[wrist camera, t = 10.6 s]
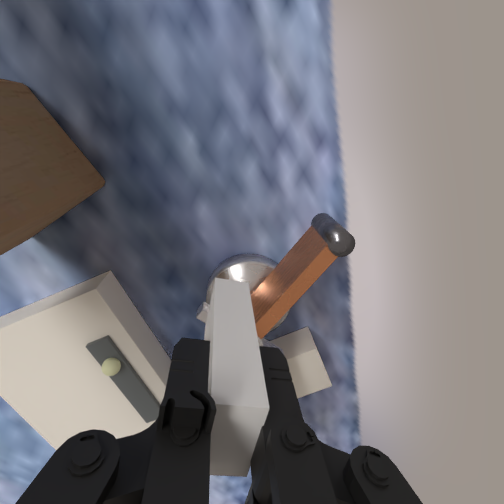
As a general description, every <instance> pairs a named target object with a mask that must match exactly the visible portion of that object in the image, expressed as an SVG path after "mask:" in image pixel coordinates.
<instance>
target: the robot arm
mask: <svg viewBox="0 0 504 504" xmlns="http://www.w3.org/2000/svg"><path fill="white" fill-rule="evenodd" d="M289 371H290V370H289V366H288V362H287V359H286V357H285V356H284V355H283V353H282V352H281V351H280V349H279V348H274V347H265V346H259V343H258V337H257V331H256V325H255V319H254V313H253V307H252V301H251V295H250V290H249V284H248V283H247V282H240V281H234V280H227V279H221V278H215V281H214V286H213V291H212V296H211V301H210V306H209V311H208V316H207V321H206V326H205V336H204V340H198V339H190V338H181V339H180V341H179V342H178V343H177V344H176V345H175V346H174V350H173V355H172V360H171V364H170V370H169V374H168V379H167V384H166V389H165V394H164V398H163V400H162V402H161V405H160V409H159V415H158V418H157V419H156V421H155V422H154V423H153V424H152V425H151V426H150V427H149V428H147V429H145V430H143V431H142V432H140V433H137V434H134V435H130V436H126V437H122V438H118V439H116V438H115V437H114V435H112V434H110V433H108V432H107V431H105V430H96V429H92V430H88V431H83V432H80V433H78V434H76V435H74V436H72V437H70V438H69V439H67V440H66V441H65V442H64V443H63V444H62V445H61V446H60V447H59V448H58V449H57V450H56V452H55V453H54V454H53V456H52V457H51V458H50V459H49V461H48V462H47V463H46V465H45V466H44V467H43V468H42V470H41V471H40V472H39V474H38V475H37V476H36V478H35V479H34V480H33V481H32V483H31V484H30V485H29V487H28V488H27V489H26V491H25V492H24V493H23V494H22V496H21V497H20V498H19V500H18V501H17V502H16V504H209V478H210V475H220V476H243V477H247V474H248V471H249V468H250V465H251V475H252V484H251V487H250V490H249V493H248V496H247V499H246V501H245V504H423V503H422V502H421V501H420V499H419V498H418V496H417V495H416V494H415V492H414V491H413V490H412V488H411V486H410V485H409V484H408V482H407V481H406V479H405V478H404V477H403V475H402V474H401V473H400V471H399V470H398V468H397V467H396V465H395V464H394V463H393V462H392V461H391V460H390V459H389V457H388V456H386V455H385V454H383V453H382V452H381V451H379V450H378V449H375V448H373V447H370V446H358V447H356V448H355V449H353V451H352V453H351V455H350V454H348V453H345V452H343V451H340V450H338V449H335V448H332V447H330V446H328V445H326V444H324V443H322V442H321V441H319V440H318V439H317V437H316V434H315V432H314V431H313V430H312V429H311V428H310V427H309V426H308V425H307V424H306V423H304V420H303V417H302V413H301V410H300V406H299V402H298V399H297V395H296V391H295V388H294V384H293V382H292V377H291V373H290V372H289Z"/></svg>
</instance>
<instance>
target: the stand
mask: <svg viewBox="0 0 504 504" xmlns="http://www.w3.org/2000/svg"><path fill="white" fill-rule="evenodd" d="M270 342H271V343H273V344H275V345H276V346H278V347H280V348H281V349H283V353H284V356H285V357H286V359H287V362H288V366H289V370H290V371H289V372H290V373H291V377H292V382H293V384H294V388H295V391H296V395H297V399H298V398H300V397H303V396H306V395H309V394H311V393H314V392H317V391H320V390H322V389H325V388H328V387H331V386H332V384H331V382H330V379H329V377H328V374H327V372H326V369H325V367H324V364H323V362H322V359H321V357H320V355H319V352H318V350H317V347H316V345H315V342H314V340H313V338H312V335H311V333H310V330H309V328H308V327H305V328H303V329H300V330H297V331H295V332H292V333H289V334H287V335H284V336H282V337H279V338H276V339H274V340H271V341H270ZM170 364H171V359H170V358H169V356H168V355H167V353H166V352H165V350H164V349H163V347H162V346H161V344H160V343H159V341H158V340H157V339H156V337H155V336H154V334H153V333H152V331H151V330H150V328H149V327H148V325H147V324H146V322H145V321H144V319H143V318H142V316H141V315H140V313H139V312H138V310H137V309H136V307H135V306H134V304H133V303H132V301H131V300H130V298H129V297H128V295H127V294H126V292H125V291H124V289H123V288H122V286H121V285H120V283H119V282H118V280H117V279H116V277H115V276H114V274H113V273H112V271H111V270H110V271H108V272H105V273H103V274H101V275H98V276H96V277H94V278H91V279H89V280H86V281H84V282H82V283H79V284H77V285H75V286H72V287H70V288H67V289H65V290H63V291H60V292H58V293H56V294H53V295H51V296H49V297H46V298H44V299H41V300H39V301H37V302H34V303H32V304H30V305H27V306H25V307H22V308H20V309H18V310H15V311H13V312H11V313H8V314H6V315H3V316H1V317H0V396H1V397H2V398H3V399H4V400H5V401H6V402H7V403H8V404H9V405H10V406H11V407H12V408H13V409H14V410H15V411H16V412H18V413H19V414H20V415H21V416H22V417H23V418H24V419H25V420H26V421H27V422H28V423H29V424H30V425H31V426H32V427H33V428H34V429H35V430H36V431H37V432H38V433H39V434H40V435H41V436H42V437H43V438H44V439H45V440H46V441H47V442H48V443H49V444H50V445H51V446H52V447H53V448H54V449H55V450H57V449H58V448H59V447H60V446H61V445H62V444H63V443H64V442H65V441H66V440H67V439H69V438H70V437H72V436H74V435H76V434H78V433H80V432H83V431H88V430H92V429H96V430H105V431H107V432H108V433H110V434H112V435H114V437H115V438H116V439H118V438H122V437H126V436H130V435H134V434H137V433H140V432H142V431H143V430H145V429H147V428H149V427H150V426H151V425H152V424H153V423H154V422H155V421H156V419H157V418H158V415H159V409H160V405H161V402H162V400H163V398H164V394H165V389H166V384H167V379H168V374H169V370H170Z"/></svg>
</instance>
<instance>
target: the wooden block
mask: <svg viewBox="0 0 504 504" xmlns="http://www.w3.org/2000/svg"><path fill="white" fill-rule="evenodd" d="M104 184H105V180H104V179H103V177H102V176H101V175H100V174H99V173H98V171H97V170H96V169H95V168H94V167H93V165H92V164H91V163H90V162H89V161H88V159H87V158H86V157H85V156H84V155H83V153H82V152H81V151H80V150H79V148H78V147H77V146H76V145H75V144H74V142H73V141H72V140H71V139H70V138H69V136H68V135H67V134H66V133H65V132H64V130H63V129H62V128H61V127H60V126H59V124H58V123H57V122H56V121H55V120H54V118H53V117H52V116H51V115H50V114H49V112H48V111H47V110H46V109H45V107H44V106H43V105H42V104H41V103H40V101H39V100H38V99H37V98H36V97H35V95H34V94H33V93H32V92H31V91H30V89H29V88H28V87H27V86H26V85H24V84H23V83H18V82H14V81H9V80H4V79H0V255H2V254H4V253H5V252H7V251H9V250H10V249H12V248H14V247H16V246H17V245H19V244H21V243H23V242H24V241H26V240H28V239H30V238H31V237H33V236H34V235H36V234H37V233H39V232H40V231H41V230H43V229H44V228H46V227H47V226H48V225H50V224H51V223H53V222H54V221H56V220H57V219H58V218H60V217H61V216H63V215H64V214H65V213H67V212H68V211H70V210H71V209H72V208H74V207H75V206H77V205H78V204H79V203H81V202H82V201H84V200H85V199H86V198H88V197H89V196H91V195H92V194H93V193H95V192H96V191H98V190H99V189H100V188H102V187H103V186H104Z"/></svg>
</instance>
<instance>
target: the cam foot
mask: <svg viewBox="0 0 504 504" xmlns="http://www.w3.org/2000/svg"><path fill="white" fill-rule="evenodd" d="M354 247H355V239H354V237H353V236H352V235H351V234H350V233H349V232H347V231H346V230H345V229H344V228H343V227H342V226H341V225H340V224H338V223H337V222H336V221H335V220H334V219H333V218H332V217H330V216H329V215H328V214H325V213H320V214H318V215H316V216H315V217H314V218H313V220H312V222H311V227H310V228H309V229H308V230H307V231H306V232H305V234H304V235H303V236H302V237H301V238H300V239H299V241H298V242H297V243H296V244H295V245H294V246H293V247H292V249H291V250H290V251H289V252H288V253H287V254H286V256H285V257H284V258H283V259H282V260H281V261H280V262H279V264H278V265H277V264H276V263H275V262H274V261H272V260H271V259H269V258H267V257H265V256H262V255H258V254H240V255H236V256H233V257H230V258H228V259H226V260H225V261H223V262H222V263H221V264H219V265H218V266H217V267H216V269H215V270H214V271H213V273H212V274H211V276H210V279H209V282H208V287H207V295H206V303H205V302H203V303H202V304H201V306H200V307H199V308H198V309H197V316H196V318H197V319H199V320H201V321H202V322H204V323H206V321H207V316H208V311H209V306H210V301H211V296H212V291H213V286H214V281H215V278H221V279H227V280H234V281H240V282H247V283H248V284H249V290H250V295H251V301H252V307H253V313H254V319H255V325H256V331H257V337H258V343H259V346H265V347H274V348H279V349H280V351H281V352H282V353H283V349H281V348H280V347H278V346H276V345H275V344H273V343H271V342H270V341H268V340H266V339H265V338H263V337H264V336H265V335H266V334H267V333H269V332H271V331H272V330H274V329H275V328H277V327H278V326H279V325H280V324H281V323H282V322H283V321H284V320H285V318H286V317H287V315H288V313H289V311H290V308H291V307H292V306H293V305H294V304H295V303H296V302H297V300H298V299H299V298H300V297H301V296H302V295H303V294H304V293H305V292H306V291H307V290H308V289H309V287H310V286H311V285H312V284H313V283H314V282H315V281H316V280H317V279H318V278H319V277H320V276H321V275H322V273H323V272H324V271H325V270H326V269H327V268H328V267H329V266H330V265H331V264H332V263H333V262H334V260H335V259H336V258H337V257H344V256H347V255H348V254H350V253H351V252H352V251H353V249H354ZM283 355H284V353H283Z"/></svg>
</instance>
